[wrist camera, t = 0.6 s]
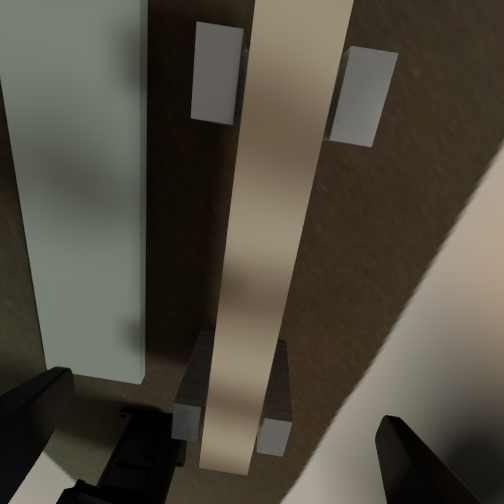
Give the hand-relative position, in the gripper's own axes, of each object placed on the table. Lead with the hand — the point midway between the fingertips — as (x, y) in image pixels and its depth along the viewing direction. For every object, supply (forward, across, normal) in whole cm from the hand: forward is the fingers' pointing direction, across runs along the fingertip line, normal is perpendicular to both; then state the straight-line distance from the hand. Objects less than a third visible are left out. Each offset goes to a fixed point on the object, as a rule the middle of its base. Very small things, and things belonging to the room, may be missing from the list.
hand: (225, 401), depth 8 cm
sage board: (+13, +12, 0) cm, 17 cm away
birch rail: (+8, 0, 0) cm, 8 cm away
